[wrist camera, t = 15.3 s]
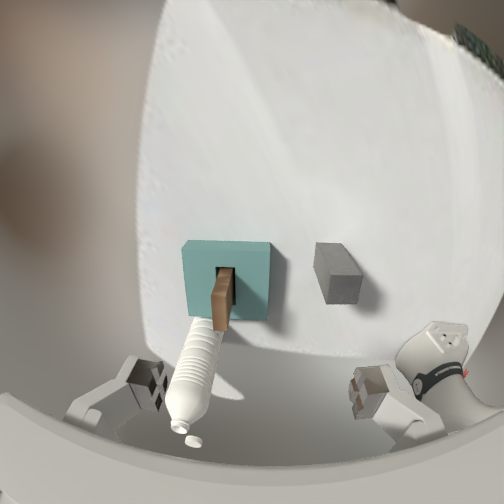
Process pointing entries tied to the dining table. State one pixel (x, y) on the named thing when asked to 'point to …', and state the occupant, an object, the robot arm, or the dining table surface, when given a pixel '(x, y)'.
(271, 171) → the dining table surface
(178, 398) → the water bottle
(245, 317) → the socket block
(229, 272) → the walnut blade
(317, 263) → the square metal peg
